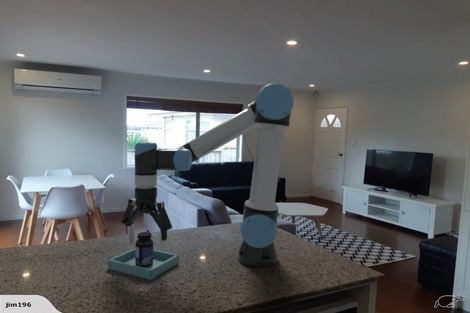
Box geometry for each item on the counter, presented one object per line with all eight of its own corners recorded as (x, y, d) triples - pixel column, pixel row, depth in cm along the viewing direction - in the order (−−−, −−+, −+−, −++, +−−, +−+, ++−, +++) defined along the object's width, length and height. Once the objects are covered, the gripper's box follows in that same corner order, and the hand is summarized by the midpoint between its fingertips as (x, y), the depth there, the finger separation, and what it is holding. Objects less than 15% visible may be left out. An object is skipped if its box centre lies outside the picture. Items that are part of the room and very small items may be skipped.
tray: (178, 263, 126) (178, 254, 125) (150, 279, 111) (150, 270, 111) (139, 254, 133) (139, 246, 133) (108, 268, 118) (108, 260, 118)
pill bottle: (155, 261, 125) (156, 231, 124) (149, 268, 119) (150, 236, 118) (138, 260, 125) (139, 230, 125) (132, 266, 119) (132, 235, 118)
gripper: (182, 187, 118) (182, 248, 120) (125, 182, 129) (125, 238, 130) (169, 191, 111) (169, 255, 113) (110, 185, 122) (111, 244, 123)
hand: (146, 246), depth 121 cm, fingers open, 13 cm apart
